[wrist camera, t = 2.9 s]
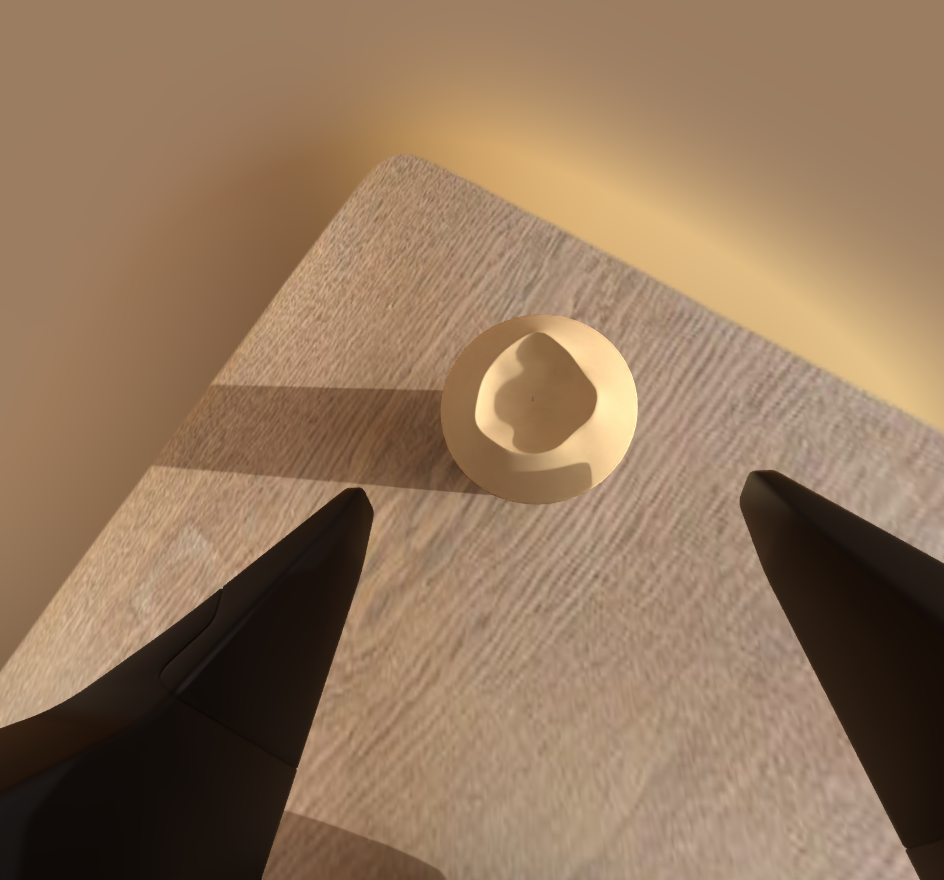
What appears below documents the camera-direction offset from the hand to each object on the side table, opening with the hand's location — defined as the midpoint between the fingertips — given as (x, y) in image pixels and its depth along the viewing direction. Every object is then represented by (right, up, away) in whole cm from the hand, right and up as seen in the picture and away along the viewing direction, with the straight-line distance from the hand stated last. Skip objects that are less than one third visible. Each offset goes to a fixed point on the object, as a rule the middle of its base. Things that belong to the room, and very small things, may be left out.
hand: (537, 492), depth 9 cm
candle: (+2, +1, +10) cm, 10 cm away
